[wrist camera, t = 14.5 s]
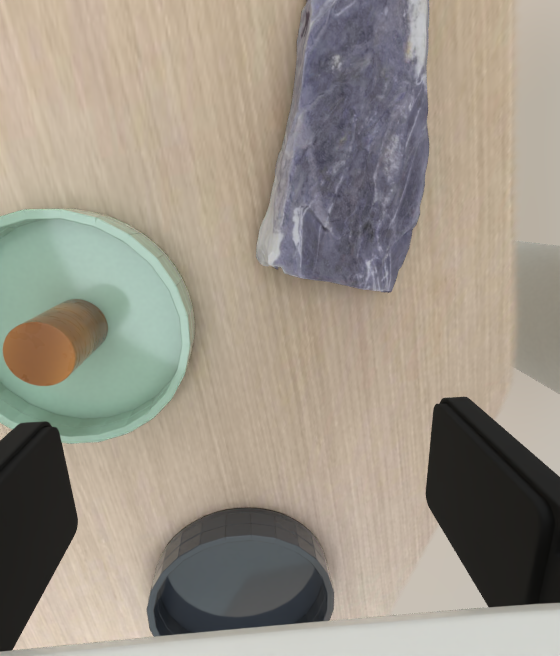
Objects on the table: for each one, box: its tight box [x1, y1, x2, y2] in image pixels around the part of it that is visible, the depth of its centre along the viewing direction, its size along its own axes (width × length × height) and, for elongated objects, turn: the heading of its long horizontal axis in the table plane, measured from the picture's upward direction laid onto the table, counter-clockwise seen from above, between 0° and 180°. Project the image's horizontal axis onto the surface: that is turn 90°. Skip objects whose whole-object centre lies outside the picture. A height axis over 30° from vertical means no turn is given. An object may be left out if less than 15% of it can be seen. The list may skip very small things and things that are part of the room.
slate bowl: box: [147, 508, 334, 637], centre depth 36 cm, size 16×16×3 cm
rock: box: [256, 0, 429, 293], centre depth 24 cm, size 25×11×5 cm, turn 171°
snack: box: [3, 299, 108, 386], centre depth 26 cm, size 4×4×6 cm
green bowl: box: [0, 209, 195, 444], centre depth 28 cm, size 16×16×3 cm
